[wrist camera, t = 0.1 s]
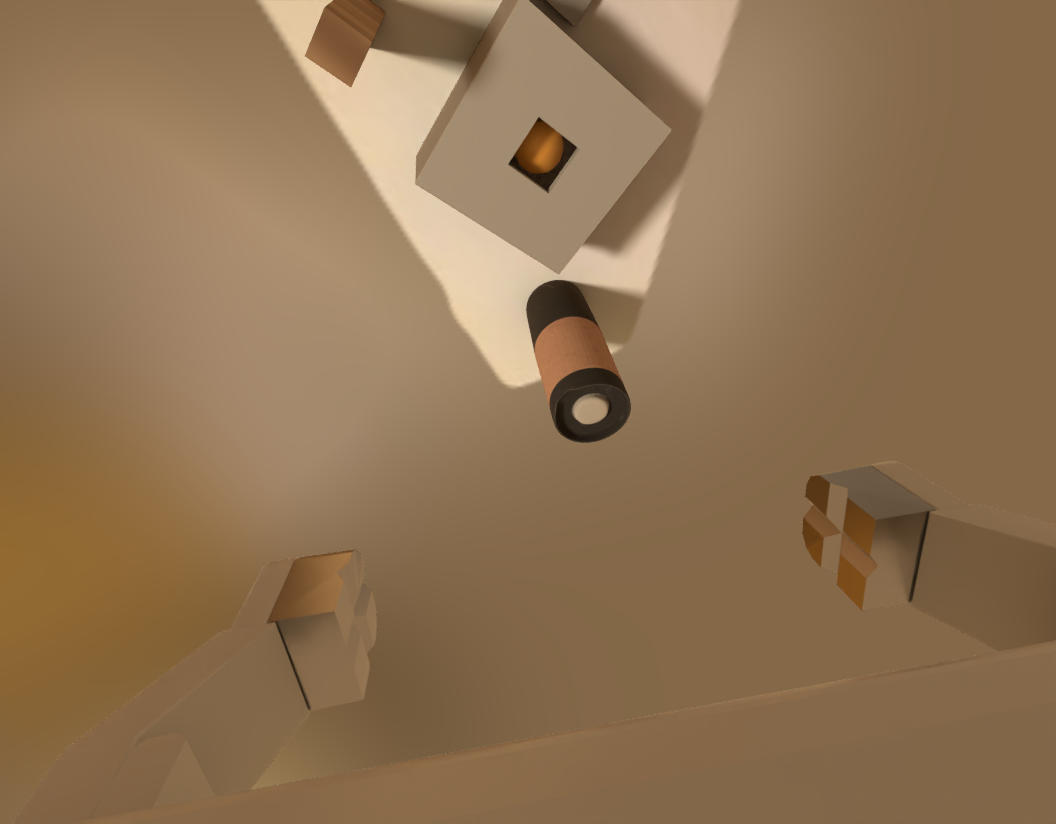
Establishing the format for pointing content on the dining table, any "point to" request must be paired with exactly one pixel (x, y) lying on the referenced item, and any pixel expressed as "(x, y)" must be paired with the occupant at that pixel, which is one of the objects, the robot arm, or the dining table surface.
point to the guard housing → (507, 117)
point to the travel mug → (575, 364)
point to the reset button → (540, 148)
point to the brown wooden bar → (344, 37)
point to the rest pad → (570, 9)
